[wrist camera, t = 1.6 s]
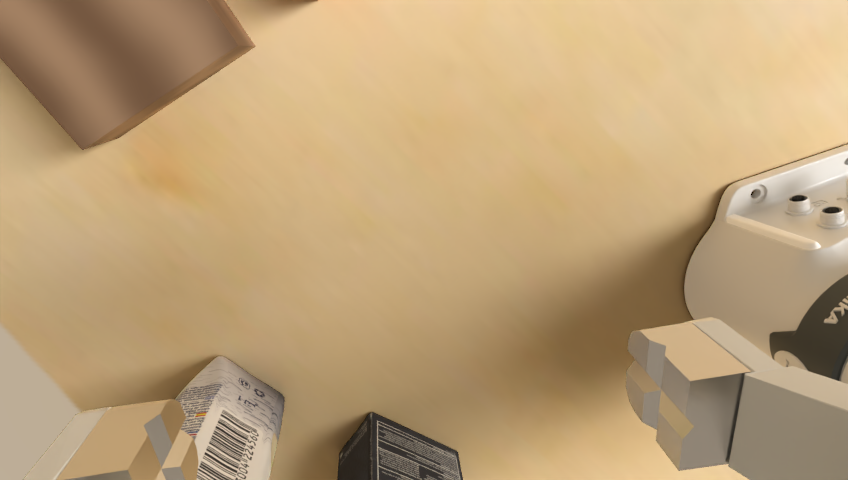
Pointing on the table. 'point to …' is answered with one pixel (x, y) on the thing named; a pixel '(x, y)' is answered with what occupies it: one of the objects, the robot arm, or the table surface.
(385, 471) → the small box
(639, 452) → the table surface
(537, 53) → the table surface
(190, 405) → the juice carton
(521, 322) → the table surface
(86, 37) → the walnut block
